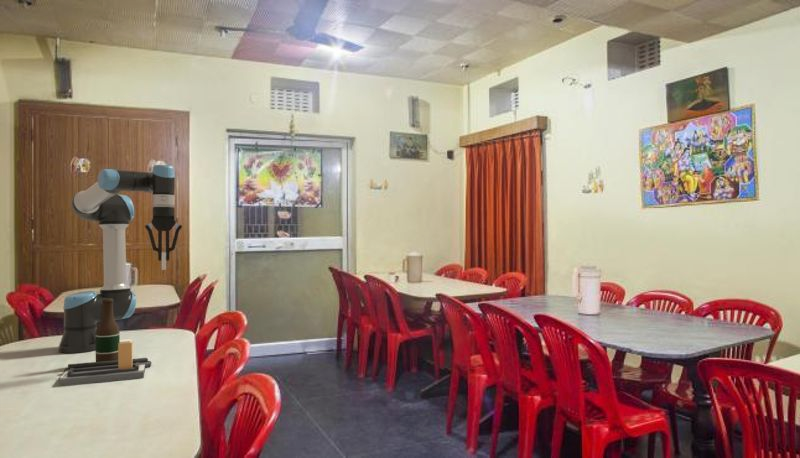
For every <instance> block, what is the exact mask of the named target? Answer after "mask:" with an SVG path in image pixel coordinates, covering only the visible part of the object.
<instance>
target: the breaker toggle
mask: <svg viewBox="0 0 800 458" xmlns="http://www.w3.org/2000/svg"><path fill="white" fill-rule="evenodd" d="M133 359H134V358H133V340H132V339H131V338H129V339H127V338H126V339H120V342H119V344H118V370H119V369H130V368H132V367H133Z"/></svg>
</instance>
